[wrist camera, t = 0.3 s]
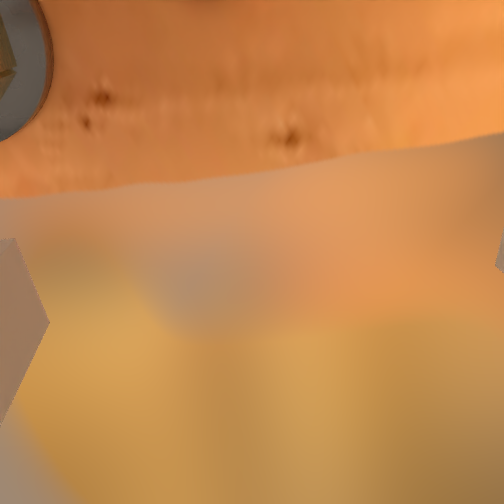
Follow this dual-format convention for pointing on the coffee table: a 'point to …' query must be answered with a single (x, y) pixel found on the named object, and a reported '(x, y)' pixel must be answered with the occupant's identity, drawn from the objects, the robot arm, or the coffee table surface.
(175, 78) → the coffee table surface
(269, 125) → the coffee table surface
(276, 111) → the coffee table surface
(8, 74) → the ball lever
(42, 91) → the housing
